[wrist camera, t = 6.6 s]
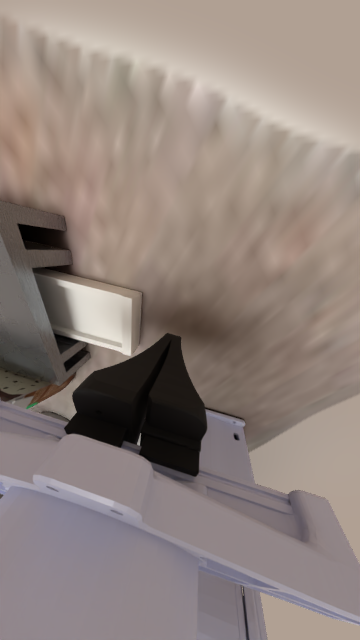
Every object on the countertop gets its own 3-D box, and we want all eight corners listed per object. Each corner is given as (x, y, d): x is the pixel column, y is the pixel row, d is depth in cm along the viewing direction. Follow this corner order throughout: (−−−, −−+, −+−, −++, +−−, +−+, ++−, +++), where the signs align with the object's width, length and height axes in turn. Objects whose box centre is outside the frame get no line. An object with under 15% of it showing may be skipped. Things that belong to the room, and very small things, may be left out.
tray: (142, 292, 13) (132, 298, 11) (139, 344, 16) (130, 356, 14) (30, 264, 14) (4, 266, 12) (48, 319, 17) (29, 327, 15)
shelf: (63, 216, 11) (-15, 196, 7) (90, 358, 18) (59, 385, 15) (-41, 194, 12) (-165, 165, 8) (26, 339, 19) (-19, 362, 15)
